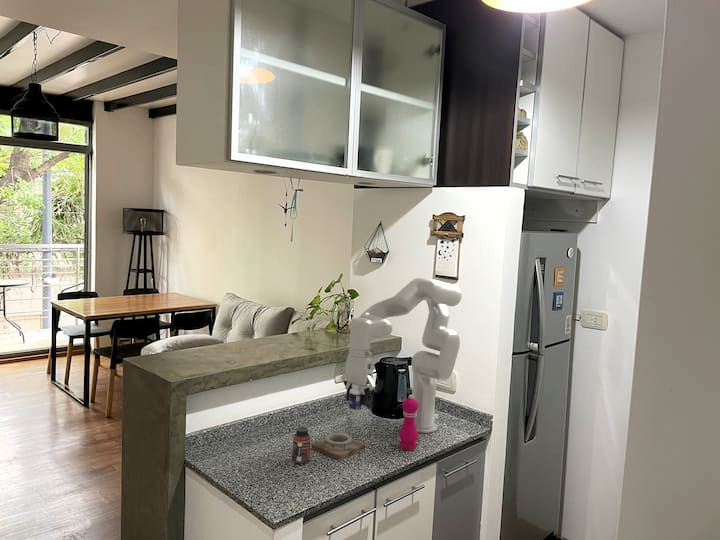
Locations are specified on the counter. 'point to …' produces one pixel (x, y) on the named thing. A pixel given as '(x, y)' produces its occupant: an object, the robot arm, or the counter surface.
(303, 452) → the supplement bottle
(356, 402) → the pill bottle
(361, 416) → the counter surface
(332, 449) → the hub board
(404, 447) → the pepper mill
